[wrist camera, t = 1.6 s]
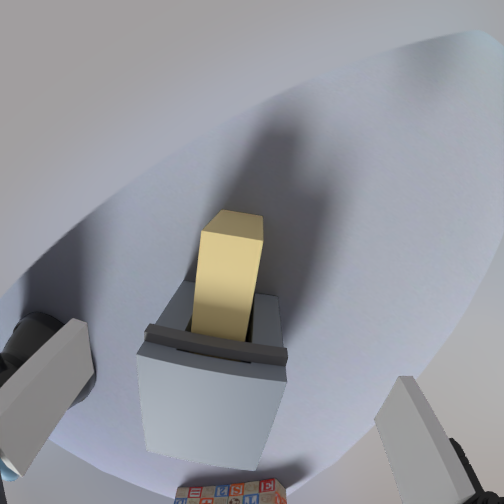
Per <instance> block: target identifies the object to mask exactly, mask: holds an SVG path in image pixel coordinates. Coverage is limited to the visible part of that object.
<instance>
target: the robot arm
mask: <svg viewBox="0 0 504 504" xmlns="http://www.w3.org/2000/svg"><path fill="white" fill-rule="evenodd" d="M95 381H96V375H95V369H94V366H93V363H92V357H91V350H90V343H89V335H88V326H87V323H86V322H83V321H80V320H77V319H75V318H72V319H71V320H70V321H69V322H68V323H67V324H65V325H63V324H62V323H61V322H59V321H58V320H56V319H55V318H53V317H51V316H49V315H47V314H43V313H38V312H35V313H30V314H28V315H27V316H25V317H24V318H23V319H22V320H20V321H19V322H18V323H17V325H16V326H15V328H14V330H13V334H12V336H11V337H10V338H9V340H8V342H7V344H6V345H5V347H4V349H3V351H2V352H1V353H0V504H7V501H6V497H5V492H4V487H3V482H2V479H3V480H6V481H15V480H16V479H17V478H18V477H19V476H21V477H23V476H24V475H25V473H26V471H27V470H28V468H29V467H30V465H31V463H32V462H33V460H34V459H35V457H36V456H37V454H38V452H39V451H40V449H41V448H42V446H43V445H44V443H45V442H46V440H47V439H48V437H49V436H50V434H51V433H52V431H53V430H54V428H55V427H56V425H57V424H58V422H59V421H60V420H61V418H62V417H63V415H64V414H65V412H66V411H67V410H68V409H70V408H71V407H73V406H74V405H75V404H77V403H79V402H81V401H83V400H84V399H85V398H86V397H87V396H88V395H89V393H90V392H91V391H92V389H93V387H94V385H95ZM374 421H375V423H376V426H377V429H378V432H379V434H380V437H381V440H382V442H383V446H384V448H385V451H386V454H387V457H388V460H389V463H390V466H391V469H392V472H393V475H394V478H395V481H396V484H397V488H398V491H399V494H400V497H401V500H402V504H504V497H499V496H498V495H497V494H496V493H494V492H490V491H487V492H485V491H484V490H483V489H482V486H481V484H480V482H479V481H478V478H477V476H476V474H475V472H474V470H473V468H472V466H471V464H469V461H468V459H467V457H465V453H464V451H463V449H462V448H461V446H460V445H459V444H458V443H457V442H456V441H455V440H454V439H453V438H448V437H447V435H446V433H445V431H444V429H443V427H442V426H441V424H440V422H439V420H438V419H437V417H436V415H435V413H434V411H433V410H432V408H431V406H430V404H429V403H428V401H427V399H426V398H425V396H424V394H423V392H422V391H421V390H420V387H419V386H418V384H417V383H416V381H415V379H414V378H413V376H399V377H398V379H397V380H396V382H395V384H394V386H393V388H392V390H391V391H390V393H389V395H388V397H387V398H386V400H385V402H384V403H383V405H382V407H381V408H380V410H379V412H378V413H377V415H376V417H375V418H374Z"/></svg>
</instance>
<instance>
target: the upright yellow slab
mask: <svg viewBox="0 0 504 504" xmlns="http://www.w3.org/2000/svg"><path fill="white" fill-rule="evenodd" d="M262 246H263V216H259V215H253V214H247V213H241V212H235V211H229V210H223V209H222V210H221V211H220V212H219V213H218V214H217V215H216V216H215V217H214V218H213V219H212V220H211V221H210V222H209V223H208V224H207V225H206V227H205V228H204V229H203V230H202V232H201V240H200V248H199V256H198V265H197V274H196V284H195V294H194V304H193V315H192V327H191V332H192V333H197V334H202V335H208V336H213V337H219V338H224V339H230V340H236V341H242V342H245V337H246V332H247V327H248V321H249V316H250V311H251V305H252V300H253V295H254V289H255V284H256V279H257V273H258V268H259V262H260V257H261V251H262ZM190 353H192V354H197V355H202V356H208V357H213V358H219V359H224V360H230V361H236V362H241V360H235V359H229V358H223V357H217V356H212V355H206V354H201V353H196V352H191V351H190Z"/></svg>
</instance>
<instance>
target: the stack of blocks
mask: <svg viewBox="0 0 504 504" xmlns="http://www.w3.org/2000/svg"><path fill="white" fill-rule="evenodd" d="M174 504H287V502H286V489H285V488H284V487H283V486H282V485H281V484H280V483H279V482H278V481H277V480H276V479H275V478H273V479H268V480H262V481H254V482H247V483H238V484H230V485H220V486H208V487H178V488H177V492H176V496H175V501H174Z"/></svg>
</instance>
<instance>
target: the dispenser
mask: <svg viewBox="0 0 504 504" xmlns="http://www.w3.org/2000/svg"><path fill="white" fill-rule="evenodd" d="M195 284H196V283H195V282H190V281H184V280H183V282H182V284H181V285H180V287H179V288H178V290H177V291H176V293H175V294H174V296H173V297H172V299H171V300H170V302H169V303H168V305H167V306H166V308H165V309H164V311H163V313H162V314H161V316H160V317H159V319H158V320H157V322H156V323H155V324H151V323H150V324H149V325H148V327H147V328H146V330H145V331H144V342H143V344H142V346H141V347H140V349H139V351H138V352H137V354H136V360H137V375H138V386H139V397H140V406H141V415H142V423H143V430H144V437H145V443H146V450H147V451H149V452H153V453H156V454H160V455H164V456H168V457H172V458H177V459H181V460H186V461H190V462H195V463H201V464H206V465H212V466H218V467H225V468H232V469H240V470H249V471H255V470H256V468H257V465H258V463H259V460H260V457H261V455H262V452H263V450H264V447H265V444H266V442H267V439H268V436H269V433H270V431H271V428H272V425H273V422H274V419H275V417H276V414H277V411H278V408H279V405H280V402H281V399H282V396H283V393H284V390H285V387H286V384H287V377H286V367H285V366H286V363H287V360H288V353H287V348H284V347H283V339H282V330H281V321H280V312H279V303H278V297H277V296H271V295H265V294H258V293H255V296H254V301H253V306H252V312H251V317H250V322H249V328H248V333H247V338H246V342H242V341H236V340H230V339H224V338H219V337H213V336H208V335H202V334H197V333H192V332H191V327H192V315H193V304H194V294H195ZM190 351H191V352H196V353H201V354H206V355H212V356H217V357H223V358H229V359H235V360H241V361H242V362H236V361H230V360H224V359H219V358H213V357H208V356H202V355H197V354H192V353H190Z"/></svg>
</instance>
